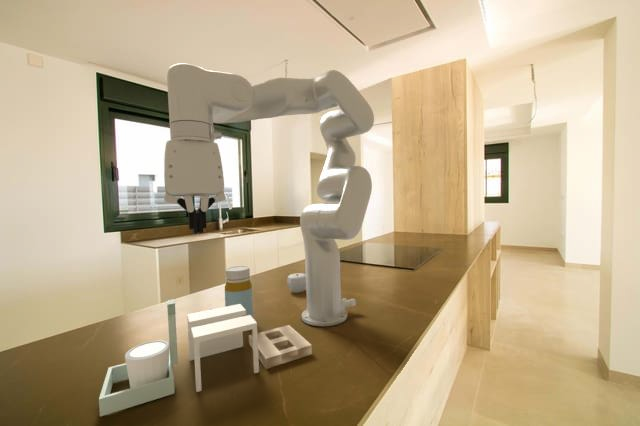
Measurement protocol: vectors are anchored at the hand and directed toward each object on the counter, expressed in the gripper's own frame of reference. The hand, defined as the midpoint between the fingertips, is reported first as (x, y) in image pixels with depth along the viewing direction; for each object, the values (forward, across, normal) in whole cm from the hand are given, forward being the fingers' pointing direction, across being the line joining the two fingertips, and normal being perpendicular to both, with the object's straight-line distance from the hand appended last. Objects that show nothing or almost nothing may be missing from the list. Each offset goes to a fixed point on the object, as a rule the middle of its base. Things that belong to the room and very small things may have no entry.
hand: (197, 232), depth 56 cm
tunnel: (+27, -3, 0) cm, 27 cm away
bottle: (+27, -11, -18) cm, 35 cm away
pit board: (+27, -15, 0) cm, 31 cm away
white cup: (+27, +9, 0) cm, 29 cm away
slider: (+27, +11, 0) cm, 29 cm away
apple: (+27, -36, -35) cm, 57 cm away
